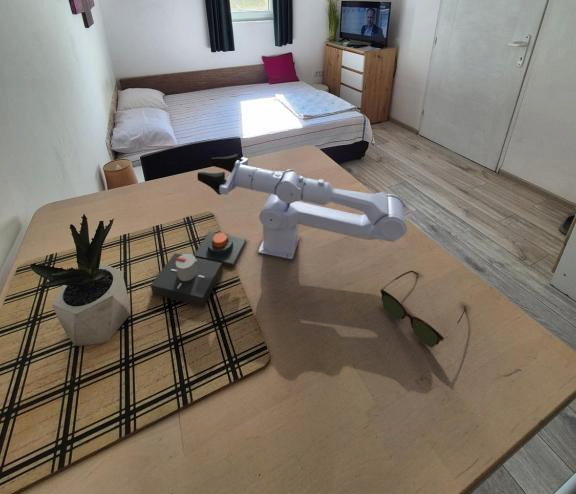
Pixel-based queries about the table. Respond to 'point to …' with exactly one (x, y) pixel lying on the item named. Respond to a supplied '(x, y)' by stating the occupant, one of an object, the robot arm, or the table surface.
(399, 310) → the sunglasses
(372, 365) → the table surface
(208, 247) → the button block
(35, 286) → the table surface
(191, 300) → the dial panel
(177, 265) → the timer dial
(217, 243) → the button
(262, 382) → the table surface
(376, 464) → the table surface
